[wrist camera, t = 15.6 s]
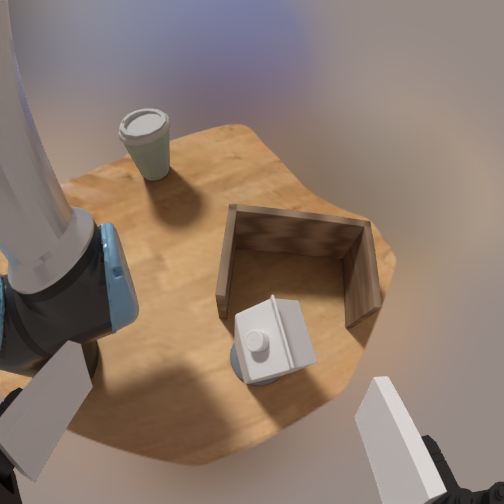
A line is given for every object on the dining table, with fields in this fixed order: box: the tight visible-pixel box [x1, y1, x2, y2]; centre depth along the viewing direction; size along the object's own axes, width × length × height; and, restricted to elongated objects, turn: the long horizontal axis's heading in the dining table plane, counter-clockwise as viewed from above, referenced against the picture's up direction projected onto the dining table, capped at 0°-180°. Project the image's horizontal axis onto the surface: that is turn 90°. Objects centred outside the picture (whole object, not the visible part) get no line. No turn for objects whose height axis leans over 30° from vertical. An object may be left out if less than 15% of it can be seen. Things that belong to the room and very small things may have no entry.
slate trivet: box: [230, 343, 281, 385], centre depth 41 cm, size 9×9×1 cm
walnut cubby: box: [215, 204, 382, 328], centre depth 43 cm, size 22×14×11 cm, turn 85°
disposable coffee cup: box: [119, 108, 170, 181], centre depth 52 cm, size 11×11×15 cm
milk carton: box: [234, 295, 317, 384], centre depth 32 cm, size 7×7×19 cm
